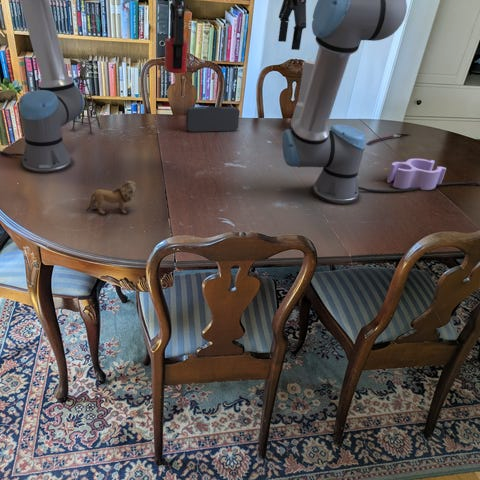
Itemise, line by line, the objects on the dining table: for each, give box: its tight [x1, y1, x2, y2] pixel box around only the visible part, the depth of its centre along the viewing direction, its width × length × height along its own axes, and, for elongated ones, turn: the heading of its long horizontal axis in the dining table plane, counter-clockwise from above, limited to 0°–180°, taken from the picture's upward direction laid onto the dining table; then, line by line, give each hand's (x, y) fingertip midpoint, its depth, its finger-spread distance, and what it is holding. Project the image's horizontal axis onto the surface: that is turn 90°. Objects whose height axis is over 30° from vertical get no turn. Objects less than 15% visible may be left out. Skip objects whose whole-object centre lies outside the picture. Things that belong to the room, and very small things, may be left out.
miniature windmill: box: [69, 50, 102, 134], centre depth 182 cm, size 9×8×30 cm
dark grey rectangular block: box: [185, 106, 241, 133], centre depth 199 cm, size 23×3×10 cm, turn 108°
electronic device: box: [290, 58, 316, 128], centre depth 206 cm, size 12×8×30 cm, turn 148°
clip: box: [386, 157, 447, 191], centre depth 173 cm, size 20×12×7 cm, turn 109°
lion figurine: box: [85, 180, 137, 215], centre depth 135 cm, size 15×5×9 cm, turn 110°
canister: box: [164, 37, 189, 74], centre depth 146 cm, size 7×7×9 cm
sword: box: [367, 133, 409, 145], centre depth 213 cm, size 31×3×1 cm, turn 126°
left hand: (175, 65), depth 148 cm, fingers closed on canister, 7 cm apart
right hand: (288, 45), depth 164 cm, fingers open, 13 cm apart
